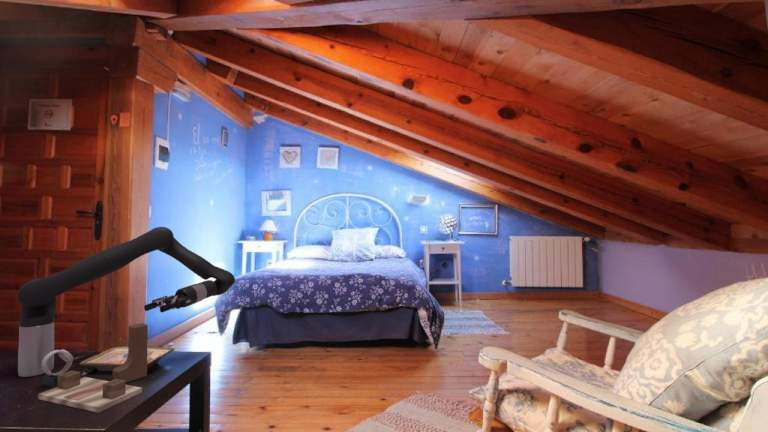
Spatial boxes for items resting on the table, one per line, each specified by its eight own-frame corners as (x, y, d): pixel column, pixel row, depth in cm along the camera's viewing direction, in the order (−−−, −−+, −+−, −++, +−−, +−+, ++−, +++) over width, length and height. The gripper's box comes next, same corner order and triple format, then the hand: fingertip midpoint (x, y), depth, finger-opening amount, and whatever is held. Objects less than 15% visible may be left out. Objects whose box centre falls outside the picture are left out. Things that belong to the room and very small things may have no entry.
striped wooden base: (38, 399, 111) (38, 380, 111) (84, 381, 124) (84, 364, 124) (98, 412, 103) (98, 393, 103) (141, 392, 115) (141, 374, 116)
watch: (76, 380, 125) (76, 347, 125) (47, 390, 117) (47, 355, 117) (66, 377, 127) (66, 345, 127) (37, 387, 119) (37, 353, 119)
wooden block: (117, 385, 120) (117, 330, 121) (112, 382, 123) (112, 328, 123) (147, 376, 128) (148, 324, 128) (142, 373, 130) (142, 322, 130)
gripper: (177, 285, 150) (138, 298, 135) (203, 286, 144) (164, 299, 129) (180, 302, 150) (141, 317, 135) (205, 304, 145) (167, 320, 130)
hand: (152, 309), depth 132 cm, fingers open, 8 cm apart
